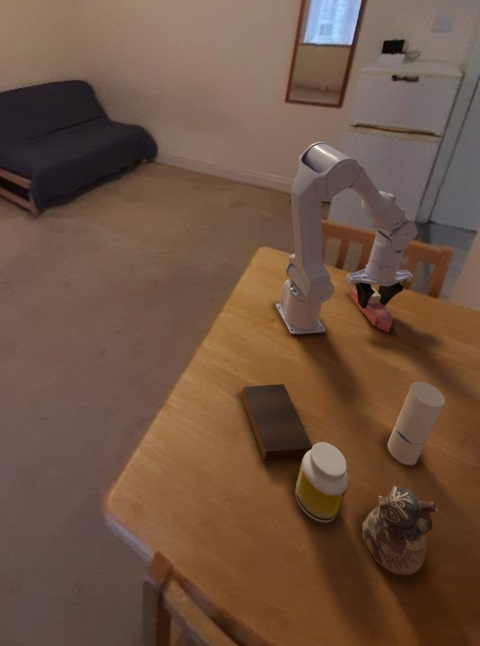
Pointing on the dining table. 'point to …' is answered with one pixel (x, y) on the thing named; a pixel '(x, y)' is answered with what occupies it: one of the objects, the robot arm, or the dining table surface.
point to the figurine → (399, 531)
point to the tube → (415, 422)
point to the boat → (375, 310)
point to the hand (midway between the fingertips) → (370, 304)
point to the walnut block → (275, 423)
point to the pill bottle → (322, 482)
